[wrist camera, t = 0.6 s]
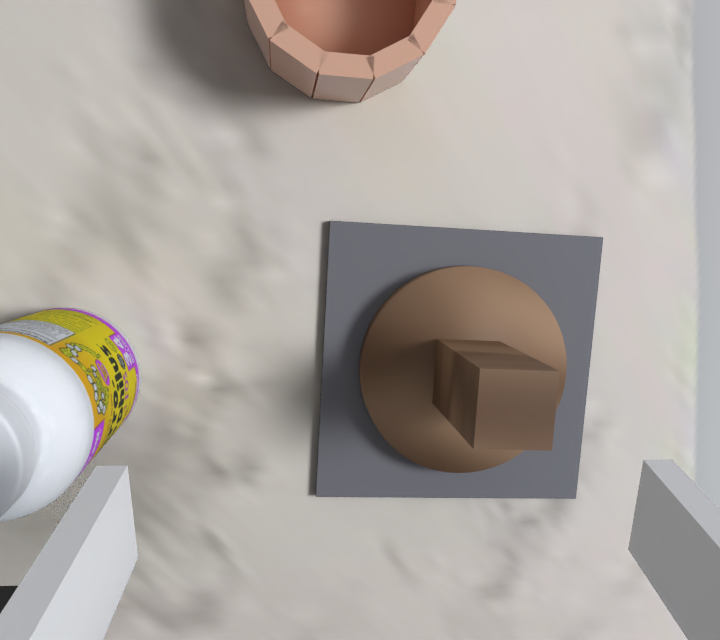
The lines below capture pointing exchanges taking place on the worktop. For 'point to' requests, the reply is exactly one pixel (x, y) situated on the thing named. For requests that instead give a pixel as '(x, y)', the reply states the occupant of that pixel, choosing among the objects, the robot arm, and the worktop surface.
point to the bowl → (345, 42)
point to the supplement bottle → (58, 401)
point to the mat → (371, 289)
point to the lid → (463, 369)
